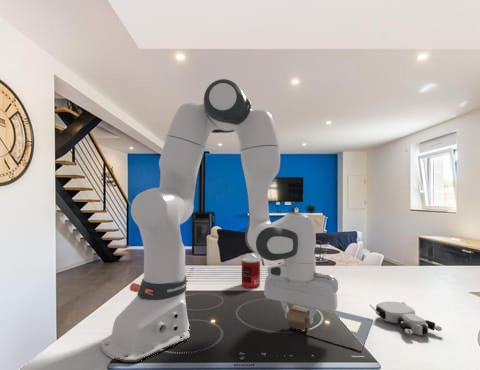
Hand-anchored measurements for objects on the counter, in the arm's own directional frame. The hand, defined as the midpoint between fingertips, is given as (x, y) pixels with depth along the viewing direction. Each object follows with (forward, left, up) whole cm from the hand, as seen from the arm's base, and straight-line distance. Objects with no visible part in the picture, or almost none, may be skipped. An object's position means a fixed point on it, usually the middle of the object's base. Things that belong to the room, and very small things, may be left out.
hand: (298, 320), depth 74 cm
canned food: (+24, +31, -3) cm, 39 cm away
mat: (+8, -9, -3) cm, 13 cm away
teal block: (+9, +2, -3) cm, 9 cm away
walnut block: (0, 0, -2) cm, 2 cm away
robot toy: (+20, -24, -3) cm, 32 cm away
